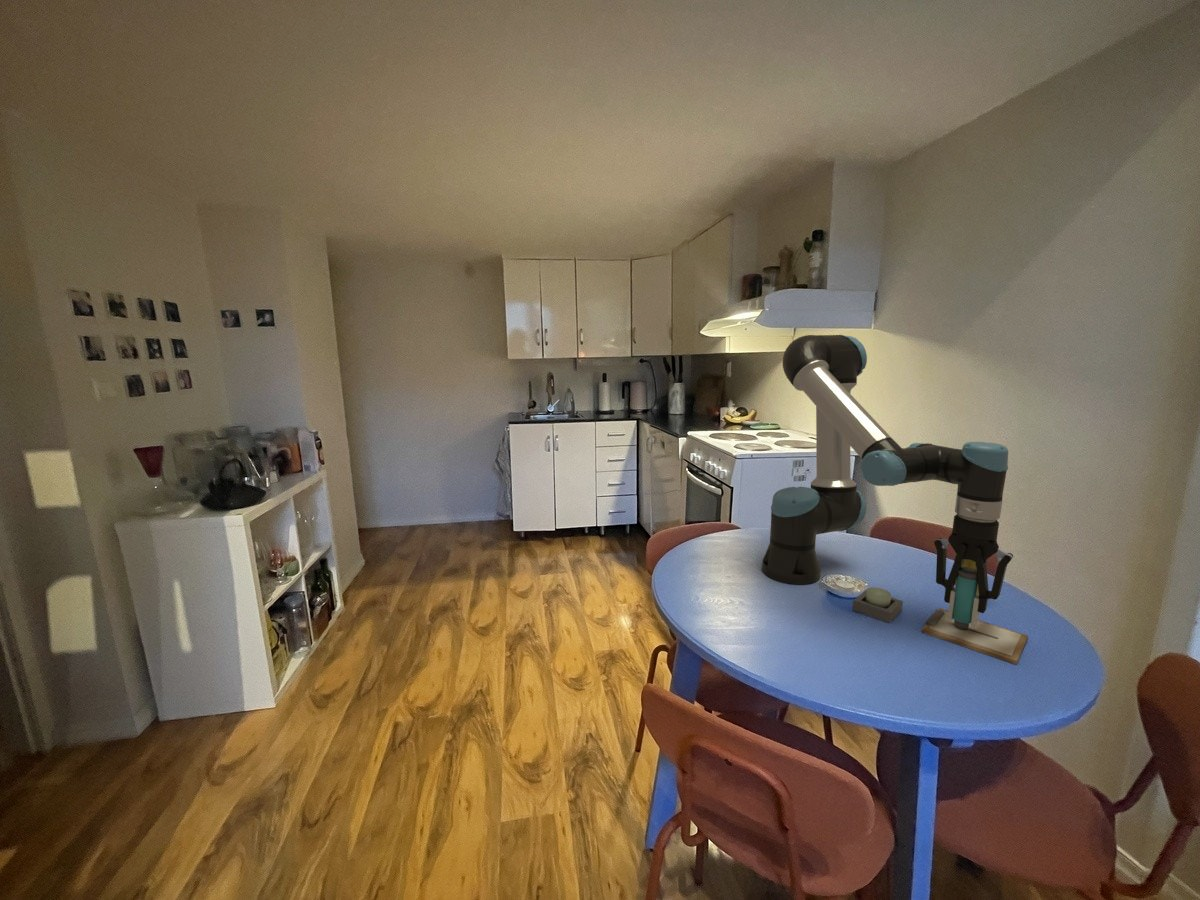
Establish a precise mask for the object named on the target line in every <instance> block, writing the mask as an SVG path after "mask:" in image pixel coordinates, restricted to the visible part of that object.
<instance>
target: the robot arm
mask: <svg viewBox="0 0 1200 900" xmlns="http://www.w3.org/2000/svg"><path fill="white" fill-rule="evenodd" d="M867 362H868V355H867V351H866V348H865V346H864V344H863V343H862V342H861V341H859V339H857V338H856V337H854V336H850V335H844V334H822V335H821V334H819V335H818V334H817V335H815V334H806V335H802V336H799V337H797V338H795V339H794V340H792V341H791V343H789V344H788V346H787V347H786V349H785V351H784V353H783V356H782V370H783V372H784V375H785V376H786V379H787V380H788V381H789V383H790V384H791V385H792V386H793V387H794V388H795V390H797V391H800V392H803V393H804V394H805V395H806V396H807V397H808V398H809V399H810V401H811V402H812V403H813V404H814V405H815V407H816V408H815V410H816V413H815V415H816V416H815V417H816V419H815V423H816V425H815V426H816V427H815V428H816V433H815V434H816V435H815V436H816V437H815V438H816V440H815V441H816V447H815V448H816V449H815V452H816V456H815V458H816V462H815V464H816V476H815V478H814V479H813V480H812V481H810V487H806V486H798V487H797V486H789V487H784V488H782V489H778V490H777V491H776V492H775V493H774V494H773V496H772V500H771V506H770V510H771V511H770V514H771V515H770V533H769V544H768V547H767V548H766V551H765V554H764V556H763V558H762V561H761V571H762V573H763V574H764V575H765V576H767V577H768V578H770V579H771V580H775V581H778V582H780V583H785V584H790V585H808V584H813V583H815V582H817V581H819V580H820V579H821V566H820V562H819V559H818V558H819V557H818V555H817V552H816V541H817V540H816V539H817V535H823V534H827V533H834V532H844V531H847V530H849V529H852V528H853V529H854V528H856V527H857V526H858V525H859V524H861V523H862V522H863V520H864V519H865V516H866V513H867V502H866V498H865V497H863V494H862V492H861V491H860V490H858V489H857V483H856V482H855V481H854V480H853V479H852V478H851V448H852V449H853V451H854V452H855V453H856V454H857V455H858V457H860V459H861V463H860V471H861V472H862V476H863V478H864V479H865V480H866V482H867V483H869V484H871V485H873V486H877V487H883V486H884V487H886V486H887V487H894V486H898V485H903V484H908V483H909V484H910V483H918V482H926V481H939V482H945V483H948V484H952V485H957V488H956V489H957V490H956V491H957V492H956V499H955V507H954V512H955V514H954V516H953V521H952V531H951V534H950V535H949V536H948V537H946V538H942V537H938V538H937V539H935V540H934V542H933V544H934V546H935V549H936V568H935V569H936V572H935V574H936V575H935V583H936V584H937V585H941V586H942V587H944V596H943V598H944V599H943V601H944V603H946V604H947V603H948V610H947V611H948V618H947V619H949V620H952V619H953V618H952V616H953V609H954V601H955V593H956V591H955V590H956V588H955V583H956V580H957V575H958V571H959V569H960V568H961V567H962V564H963V562H964V559H968V560H972V561H974V562H976V567H977V578H978V589H979V594H977V595H976V596H975V598H974V604H973V611H972V618H971V627H974V628H975V627H976V625H977V624H978V620H979V618H980V617H979V616H980V614H984V613H985V612H986V610H987V607H988V600H995V601H996V600H997V599H998V598H999V597H1000V595H1001V592H1002V591H1001V590H1002V587H1003V583H1004V579H1005V577H1006V576H1005V575H1006V571H1007V566H1008V564H1009V563H1010V562H1011V561H1012V559H1013V558H1014V555H1013V553H1011V552H1006V551H1004V550H1002V549H1000V546H999V544H998V534H999V526H1000V522H999V519H1001V514H1002V513H1001V512H1002V505H1003V497H1004V496H1003V495H1004V489H1005V483H1006V477H1007V471H1008V470H1009V466H1008V465H1009V450H1008V447H1006V445H1003V444H1001V443H1000V444H999V443H995V442H986V441H969V442H965V443H964V444H963V446H962V449H961V448H960V449H959V448H954V447H947V446H942V445H936V444H933V443H929V442H927V443H923V442H913V443H911V444H910V445H909V446H907V447H905V448H904V447H903V448H902V446H900V445H899V444H898V442H896V440H894V438H892V436H890V434H889V433H888V432H887V431H886V430H885V429H884V428H883V427H882V426H881V425H880V424H879V423H878V422H877V421H876V419H875V418H873V416H872V415H871V414H870V413H869V412H868V411H867V410H866V409H865V408H864V406H863V405H862V404H860V402H859V401H857V399H856V398H855V397H854V396H853V395H852V394H851V393H852V392H851V391H852V390H853V389H854V388H855V387H856V386H857V385H858V382H857V381H858V377H859V376H860V375H861V374H862V373H863V372H864V371H863V370H864V369H866V366H867ZM949 544H950V546H951V547H952V549H953V551H954V553H955V554H956V555H955V558H954V561H953V565H952V567H951V570H950V571H949V574H948V578H947V577H946V575H947V574H946V572H947V554H948V553H947V549H948V548H949ZM993 555H996V561H997V562H998V564H997V566H996V570H995V575H994V580H993V582H992V583H993V584H992V587H991V590H990V589H989V579H988V569H987V562H988V559H989V558H991V557H992V556H993Z"/></svg>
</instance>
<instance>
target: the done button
mask: <svg viewBox="0 0 1200 900" xmlns="http://www.w3.org/2000/svg"><path fill="white" fill-rule="evenodd" d="M866 590H867V593H866V602H867V603H870V604H873V605H876V606H879V607H882V608H885V609H887V608H888V607H889V606H890V601H891V597H892V594H891V592H890V591H888V590H887V589H884V588H880V587H873V586H872V587H868V588H866Z"/></svg>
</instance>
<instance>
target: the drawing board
mask: <svg viewBox="0 0 1200 900" xmlns="http://www.w3.org/2000/svg"><path fill="white" fill-rule="evenodd" d="M948 611H949V610H947V609H943V608H941V607H940V608H938V609H935V611H934V612H933V613H931V615H930V617H928V619H927V620H926V621H925V625H924V626H923V627H922V629H921V633H924V634H927V635H929V636H932V637H935V638H938V639H941V640H944V641H946V642H950V643H953V644H954V645H955V644H956V645H958V646H961V647H964V648H965V649H966V648H967V649H970V650H973V651H976V652H979V653H981V654H984V655H987V656H989V657H990V656H991V657H993V658H996V659H998V660H1001V661H1004V662H1007V663H1010V664H1013V665H1015V666H1016V665H1017V664H1018V662H1019V660H1020V657H1021V655H1022V654H1023V651H1024V648H1025V647H1026V644H1027V641H1028V639H1029V635H1028V634H1026V633H1025V634H1024V633H1020V632H1018V631H1016V630H1015V631H1014V630H1011V629H1009V628H1005V627H1001V626H999V625H995V624H993V623H988V622H985V621H982V620H979V619H978V624H977V625H976V627H975V628H974V627H971V623H969V628H968V630H961V629H958V628H956V627H955V626H954V619H952V620H949V619H947V618H948Z"/></svg>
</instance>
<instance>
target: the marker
mask: <svg viewBox="0 0 1200 900" xmlns="http://www.w3.org/2000/svg"><path fill="white" fill-rule="evenodd" d="M977 586H978V578H977V570H975V569H972V568H968V567H961V568H960V569H959V571H958V575H957V582H956V590H955V591H956V593H955V601H954V609H953V616H952V618H953V619H954V626H955V627H956V628H958V629H961V630H968V628H969V623H971V618H972V611H973V604H974V598H975V596H976V593H977Z"/></svg>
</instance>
